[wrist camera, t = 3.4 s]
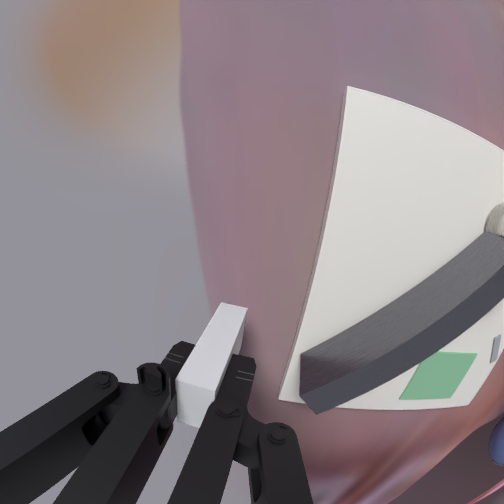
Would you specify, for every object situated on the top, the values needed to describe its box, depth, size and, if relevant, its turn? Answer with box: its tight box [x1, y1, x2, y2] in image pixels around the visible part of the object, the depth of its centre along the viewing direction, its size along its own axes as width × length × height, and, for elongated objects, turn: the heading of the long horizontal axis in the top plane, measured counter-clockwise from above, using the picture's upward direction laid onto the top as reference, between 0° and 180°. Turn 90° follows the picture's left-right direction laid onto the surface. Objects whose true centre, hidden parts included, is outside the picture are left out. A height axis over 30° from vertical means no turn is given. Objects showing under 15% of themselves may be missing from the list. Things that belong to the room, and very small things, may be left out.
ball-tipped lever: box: [299, 203, 504, 414], centre depth 12 cm, size 19×4×4 cm, turn 126°
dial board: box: [278, 86, 504, 410], centre depth 15 cm, size 20×22×2 cm
